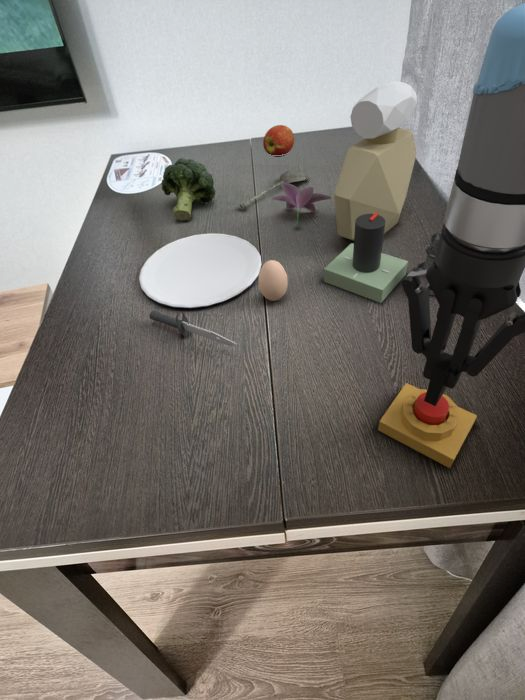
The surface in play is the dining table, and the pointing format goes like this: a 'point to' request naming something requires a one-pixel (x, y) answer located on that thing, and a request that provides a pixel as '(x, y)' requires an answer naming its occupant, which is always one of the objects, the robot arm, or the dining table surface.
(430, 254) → the chess piece
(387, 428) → the button box
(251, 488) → the dining table surface
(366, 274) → the dial panel
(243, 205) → the soupspoon
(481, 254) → the robot arm
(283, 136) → the apple
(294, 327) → the dining table surface
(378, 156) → the tan faceted bottle
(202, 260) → the plate
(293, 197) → the lily
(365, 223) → the dial
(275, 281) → the egg
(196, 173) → the vegetable
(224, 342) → the knife
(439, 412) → the button
